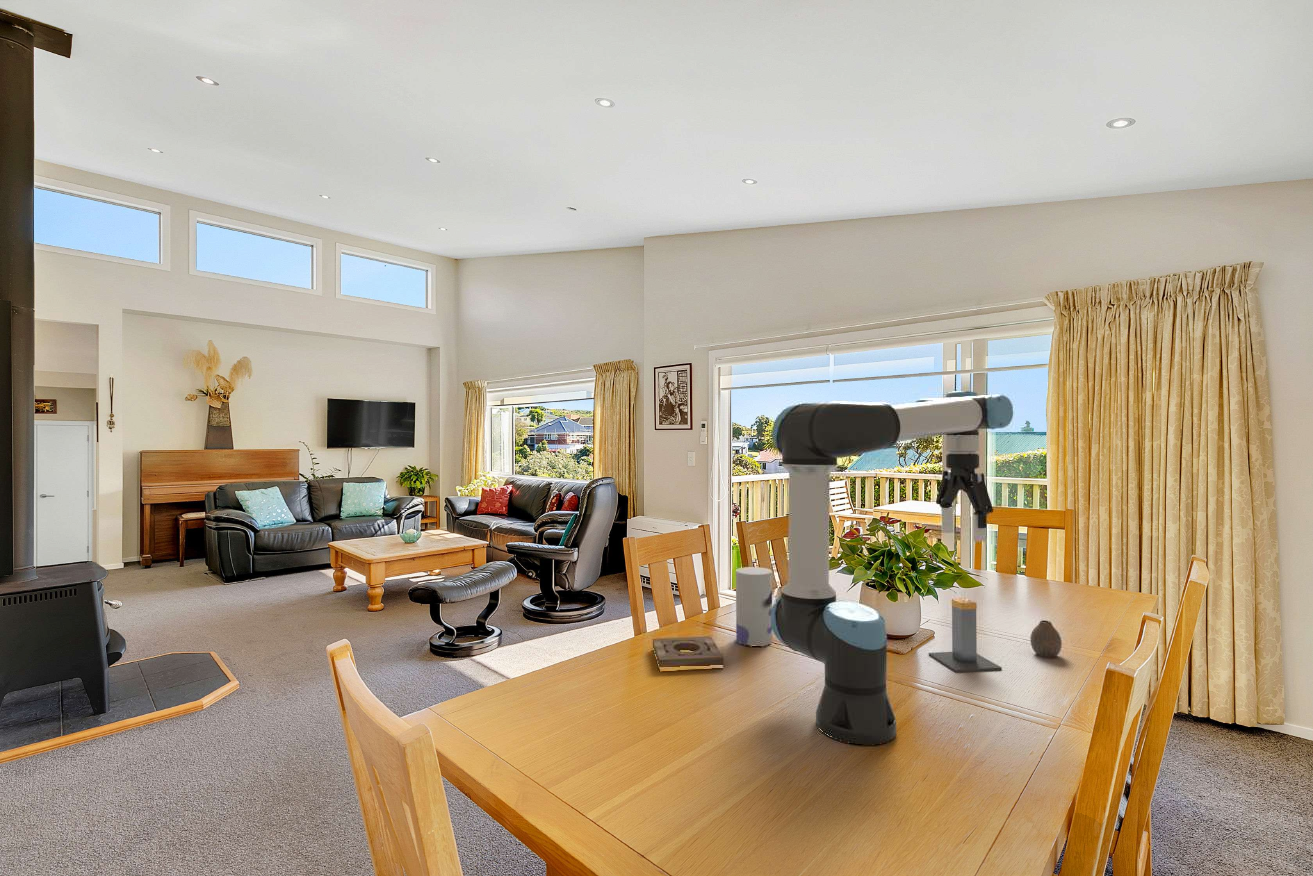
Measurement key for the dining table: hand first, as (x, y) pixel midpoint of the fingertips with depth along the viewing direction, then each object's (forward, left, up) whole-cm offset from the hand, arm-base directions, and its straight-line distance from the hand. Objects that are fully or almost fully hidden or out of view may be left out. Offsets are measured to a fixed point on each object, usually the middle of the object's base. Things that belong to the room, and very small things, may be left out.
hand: (963, 537), depth 158 cm
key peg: (0, 0, -31) cm, 31 cm away
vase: (+2, -24, -32) cm, 40 cm away
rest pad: (0, 0, -32) cm, 32 cm away
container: (+23, +48, -32) cm, 62 cm away
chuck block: (+12, +69, -32) cm, 77 cm away
